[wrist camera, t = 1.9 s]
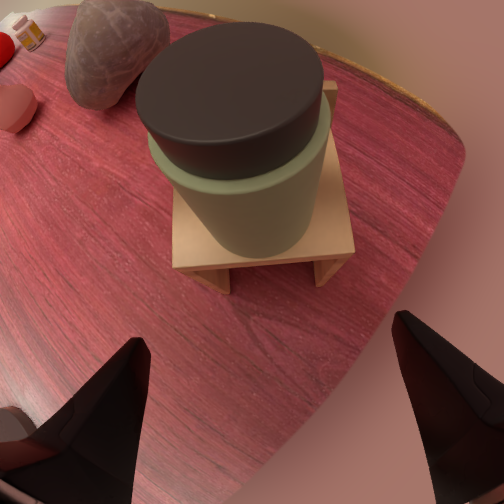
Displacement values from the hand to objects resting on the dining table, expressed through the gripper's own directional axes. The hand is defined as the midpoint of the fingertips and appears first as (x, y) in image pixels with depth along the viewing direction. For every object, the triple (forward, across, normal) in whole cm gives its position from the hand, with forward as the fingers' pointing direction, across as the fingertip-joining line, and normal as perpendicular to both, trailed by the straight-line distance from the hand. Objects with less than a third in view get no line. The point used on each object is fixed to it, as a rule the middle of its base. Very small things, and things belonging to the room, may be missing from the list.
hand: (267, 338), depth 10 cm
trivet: (0, +32, +19) cm, 37 cm away
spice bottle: (+6, 0, -2) cm, 6 cm away
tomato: (+56, +62, -36) cm, 91 cm away
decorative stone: (+31, +14, -11) cm, 36 cm away
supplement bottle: (+54, +48, -34) cm, 80 cm away
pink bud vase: (+33, +35, -13) cm, 50 cm away
